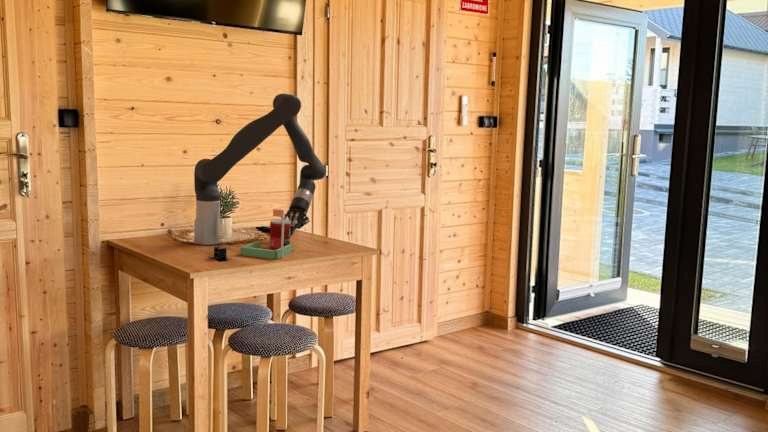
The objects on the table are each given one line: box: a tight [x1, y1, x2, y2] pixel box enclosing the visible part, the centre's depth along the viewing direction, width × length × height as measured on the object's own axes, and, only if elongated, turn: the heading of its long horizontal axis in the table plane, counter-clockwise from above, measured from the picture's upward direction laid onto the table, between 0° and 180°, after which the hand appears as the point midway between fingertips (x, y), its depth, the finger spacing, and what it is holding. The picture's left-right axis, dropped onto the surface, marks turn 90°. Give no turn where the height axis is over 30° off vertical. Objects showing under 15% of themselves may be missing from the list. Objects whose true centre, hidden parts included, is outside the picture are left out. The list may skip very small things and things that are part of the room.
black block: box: [208, 246, 232, 263], centre depth 257 cm, size 12×7×5 cm, turn 40°
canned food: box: [269, 218, 291, 250], centre depth 279 cm, size 8×8×11 cm
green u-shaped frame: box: [240, 208, 293, 260], centre depth 268 cm, size 16×14×18 cm
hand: (288, 235), depth 287 cm, fingers closed
